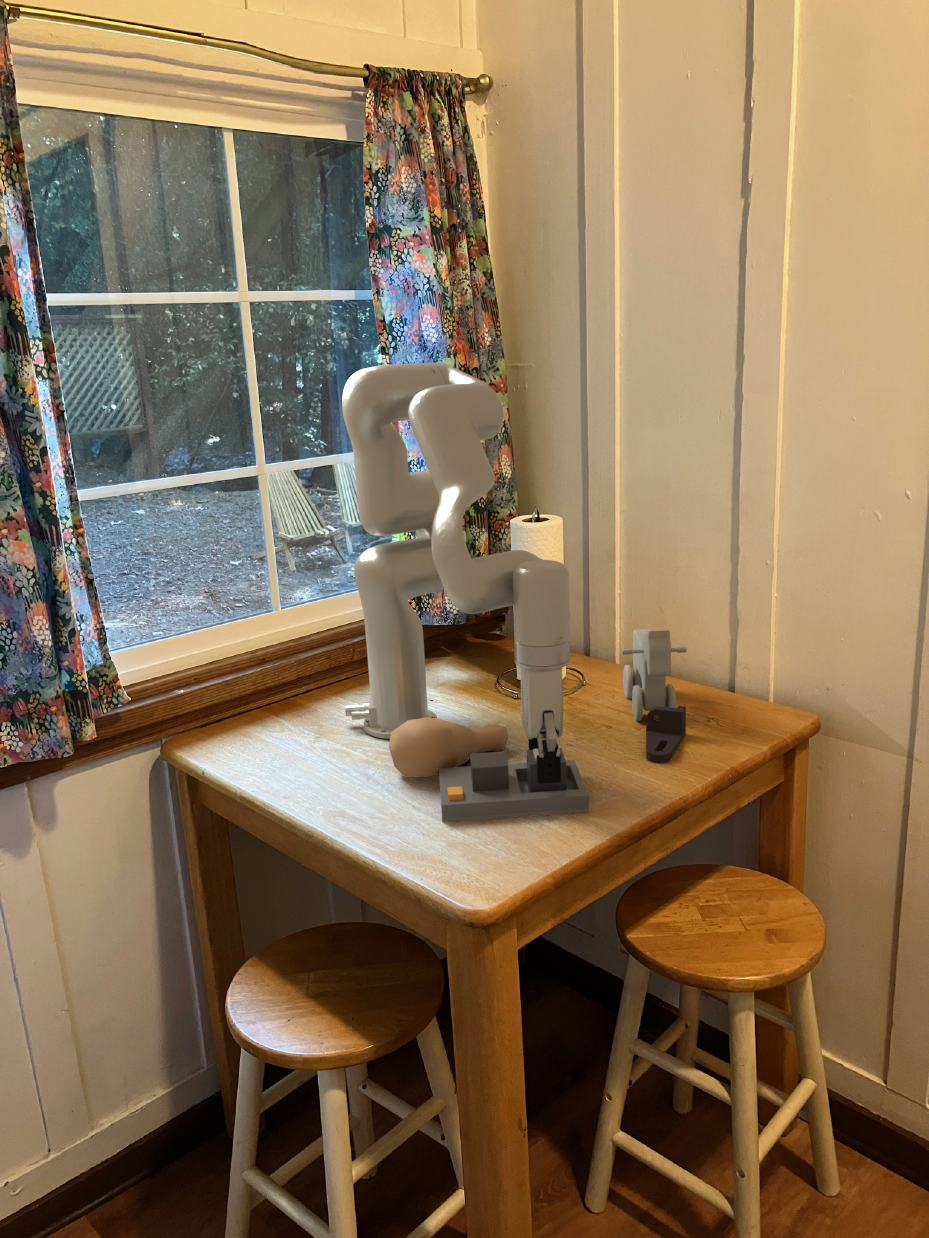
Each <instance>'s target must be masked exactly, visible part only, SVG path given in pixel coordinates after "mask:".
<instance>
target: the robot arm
mask: <svg viewBox="0 0 929 1238" xmlns="http://www.w3.org/2000/svg"><path fill="white" fill-rule="evenodd" d="M341 400H342V401H341V406H342V409H341V410H342V415H343V420H344V425H345V428H346V432H347V434H348V436H349V440H350V444H351V446H352V453H353V459H354V460H353V463H354V464H353V466H354V474H355V485H356V487H355V488H356V495H357V497H356V498H357V505H358V506H357V507H358V514H359V520H360V523H361V526H362V528H363V529H364V531H366V533H368V534H370V535H372V536H376V537H382V536H383V537H384V536H393V535H400V534H406V533H411V532H415V535H416V537H415V538H410V539H405V540H404V539H403V540H398V541H393V542H386V543H382V544H377V545H374V546H372V547H369V548H367V549H366V550H364V551H362V552H361V554H359V556H358V557H357V559H356V561H355V563H354V564H355V565H354V569H353V570H354V579H355V583H356V587H357V590H358V594H359V598H360V602H361V607H362V612H363V613H362V614H363V619H364V620H363V621H364V622H363V623H364V632H365V643H366V654H367V655H366V656H367V665H368V680H369V692H370V693H369V694H370V697H369V701H368V702H363V704H349V705H348V704H347V705H345V706H344V708H345V710H344V711H345V717H351V720H352V721H353V720H354V721H355V720H363V729H364V731H365V732H366V733H367V734H368V735H369V736H372V737H376V738H379V739H385V740H386V739H387V740H390V736H391V732H392V731H393V730H395V729H396V728H398V727H399V726H400V725H402V724H403V723H405V722H406V721H407V720H413V719H420V718H424V717H430V718H438V715H437V714H436V713H435V712H434V711H432V710H430V709H429V706H428V692H427V691H428V689H427V678H426V677H427V673H426V661H425V660H426V659H425V658H426V657H425V644H424V643H425V642H424V630H423V623H422V621H421V618H420V617H419V615H418V613H417V612H416V611H415V610H414V608H413V607H412V606H411V605H410V602H409V601H410V599H413V598H417V597H421V596H424V595H429V594H433V593H437V592H441V591H443V590H445V591H444V592H445V593H446V595H447V597H448V599H449V600H450V602H451V603H452V605H453V606H454V607H455V608H456V609H457V610H459V611H460V612H462V613H465V614H467V615H478V614H481V613H486V612H490V611H495V610H498V609H502V608H507V607H512V606H513V632H514V633H513V636H514V641H513V642H514V643H513V644H514V664H515V665H516V666H517V667H519V668H520V719H521V724H522V726H523V729H524V730H523V731H524V732H525V736H526V738H527V739H528V750H533V749H538V752H539V755H537V781H538V783H539V784H544V783H559V782H560V781H561V755H560V749H559V748H560V742H559V741H560V740H559V738H561V737H562V736H563V733H564V694H563V693H564V691H563V688H564V686H563V683H564V682H563V668H564V667H567V666H568V665H569V664H570V662H571V641H570V640H571V635H570V633H571V632H570V627H571V626H570V619H571V618H570V573H569V569H568V567H567V566H566V564H563V562H560V561H557V560H553V559H551V560H550V559H542V558H541V557H539V556H537V555H536V554H533V553H531V552H530V551H527V550H521V549H515V550H509V551H504V552H500V553H493V554H488V555H483V556H477V557H474V558H472V556H471V554H470V552H469V549H468V546H467V544H466V542H465V538H464V534H463V533H464V532H463V519H464V515H465V513H466V510H467V509H468V507H469V506H471V505H472V504H474V503H476V502H477V501H478V500H479V499H481V498H482V497H484V496H485V495H486V494H488V492H490V491H491V489H492V488H493V487H494V485H495V481H496V476H495V473H494V470H493V467H492V466H491V465H492V464H491V463H490V460H489V458H488V456H487V453H486V452H485V449H484V446H483V444H482V442H481V441H484V440H490V439H493V438H495V437H496V436H497V435H498V434H499V433H500V432H501V429H502V428H503V425H504V417H505V416H504V414H505V413H504V407H503V404H502V401H501V399H500V397H499V396H498V394H497V392H496V391H495V390H494V389H493V388H492V387H491V386H490V385H488V384H487V383H486V382H484V381H483V380H481V379H479V378H477V377H475V376H473V375H470V374H469V373H466V372H464V371H462V370H460V369H458V368H456V367H454V366H451V365H450V364H446V363H442V362H420V363H419V362H418V363H417V362H416V363H396V364H393V363H392V364H382V365H381V364H380V365H374V366H369V367H366V368H362V369H359V370H357V371H356V372H354V373H353V374H352V375H350V377H349V378H348V379H347V381H346V383H345V385H344V388H343V391H342V398H341ZM407 421H409V423H410V424H409V425H410V427H411V430H412V432H413V435H414V438H415V440H416V442H417V444H418V448H419V450H420V453H421V455H422V457H423V459H424V462H425V465H426V467H427V470H421V471H420V470H419V471H414V472H413V471H412V472H410V470H409V463H408V461H409V460H408V459H409V458H408V457H409V456H408V449H407V446H406V443H405V441H404V439H403V438H402V435H401V434H400V432H399V431H398V430H397V429H396V427H395V426H394V425H393V424H392V423H395V422H407Z"/></svg>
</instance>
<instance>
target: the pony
mask: <svg viewBox="0 0 929 1238" xmlns="http://www.w3.org/2000/svg"><path fill="white" fill-rule="evenodd" d="M671 646H672V643H671V631H670V630H669V629H668V630H654V629H653V628H646V629H645V628H644V629H634V630H633V631H632V648H622V655H623V656H624V655H625V656H626V655H632V663H633V664H632V667H631V665H630V664H625V665H624V666H623V670H622V671H623V672H622V682H623V684H622V685H623V692H624V696H625V698H626V699H631V707H632V714H633V718H634V720H635V721H636V722H640V721H642V719H643V715H644V713H643V712H644V711H647V712H649V711H650V710H651V709H652V708H654V707H666V708H677V707H678V704H677V694H676V689H675V686H674V685H673V684H672V683H668V684H667V677H670V676H671V675H672V653H687V647H686V646H677V647H671Z"/></svg>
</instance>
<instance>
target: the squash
mask: <svg viewBox="0 0 929 1238" xmlns="http://www.w3.org/2000/svg"><path fill="white" fill-rule="evenodd" d="M508 742H509V734H508V728H507V726H504V725H500V724H498V723H495V724H494V723H493V724H491V723H490V724H486V725H484V726H475V727H473V726H471V727H470V726H464V725H462V724H460V723H459V724H458V723H455V722H452V721H449V720H446V719H442V718H438V717H437V718H430V717H424V718H420V719H413V720H407V721H406V722H405V723H403V724H402V725H400V726H399V727H398V728H396V729H395V730H393V731H392V732H391V736H390V739H389V744H388V749H389V752H390V753H389V754H390V757H391V758H392V762H393V767H394V768H395V769H396V770H397V771H398V772H399V773H400V774H401V775H402V776H403V777H409V778H410V777H411V778H427V777H434V776H437V775H439V768H451V767H460V766H461V765H464V764H465V763H466V762H468V761H470V754H474V753H487V752H490V751H491V752H503V750H505V749H507V748H506V747H507V744H508Z"/></svg>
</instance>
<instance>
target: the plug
mask: <svg viewBox="0 0 929 1238" xmlns="http://www.w3.org/2000/svg"><path fill="white" fill-rule="evenodd" d="M559 749H560V755H561V781H560V782H559V783H544V784H539V783H538V781H537V755H539V752H538V749H533V750H529V749H525V751H526V752H525V755H526V756H525V759H526V763H527V786H528V790H529V793H532V792H547V791H562V790H567V774H566V760H567V759H565V758H566V757H565V754H564V752H563V750H562V747H559Z"/></svg>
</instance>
